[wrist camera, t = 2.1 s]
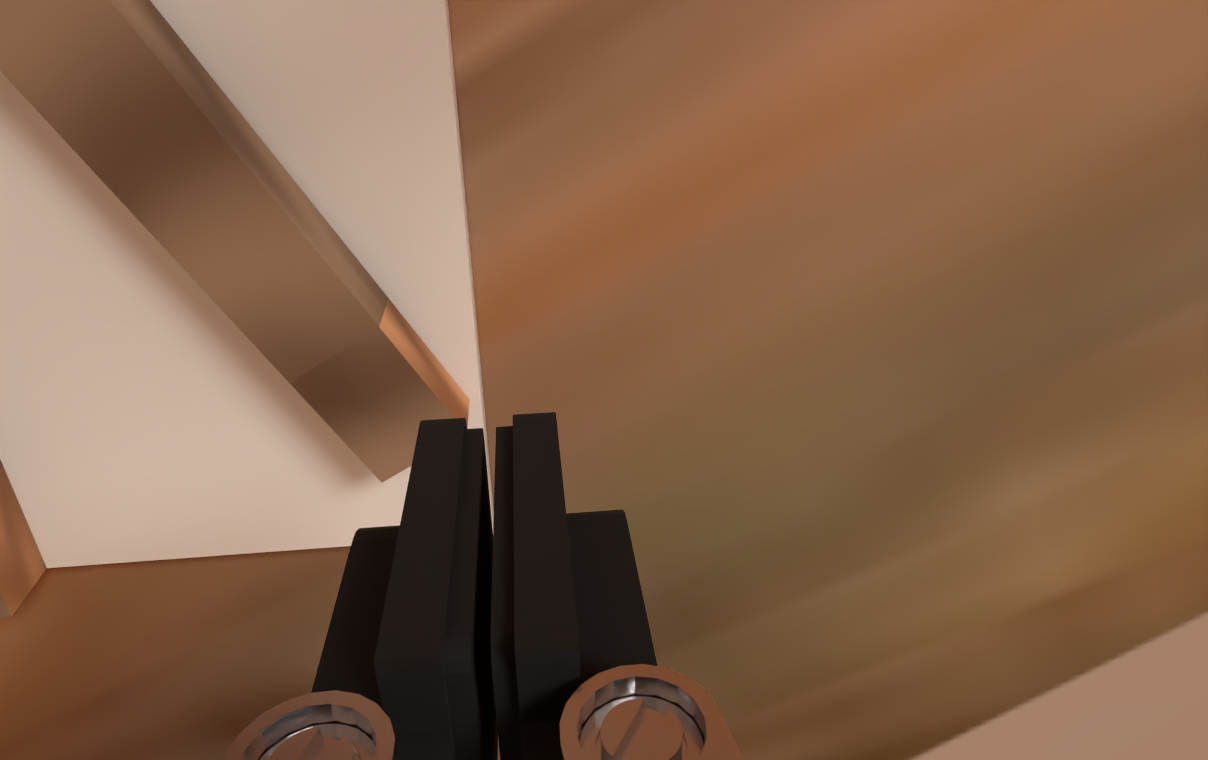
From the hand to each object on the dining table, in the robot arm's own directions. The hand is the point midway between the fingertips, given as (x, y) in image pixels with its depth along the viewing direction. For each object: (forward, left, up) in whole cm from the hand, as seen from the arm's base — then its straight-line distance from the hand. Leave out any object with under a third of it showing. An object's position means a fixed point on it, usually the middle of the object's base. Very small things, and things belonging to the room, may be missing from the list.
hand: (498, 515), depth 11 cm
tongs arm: (-3, -8, -14) cm, 16 cm away
